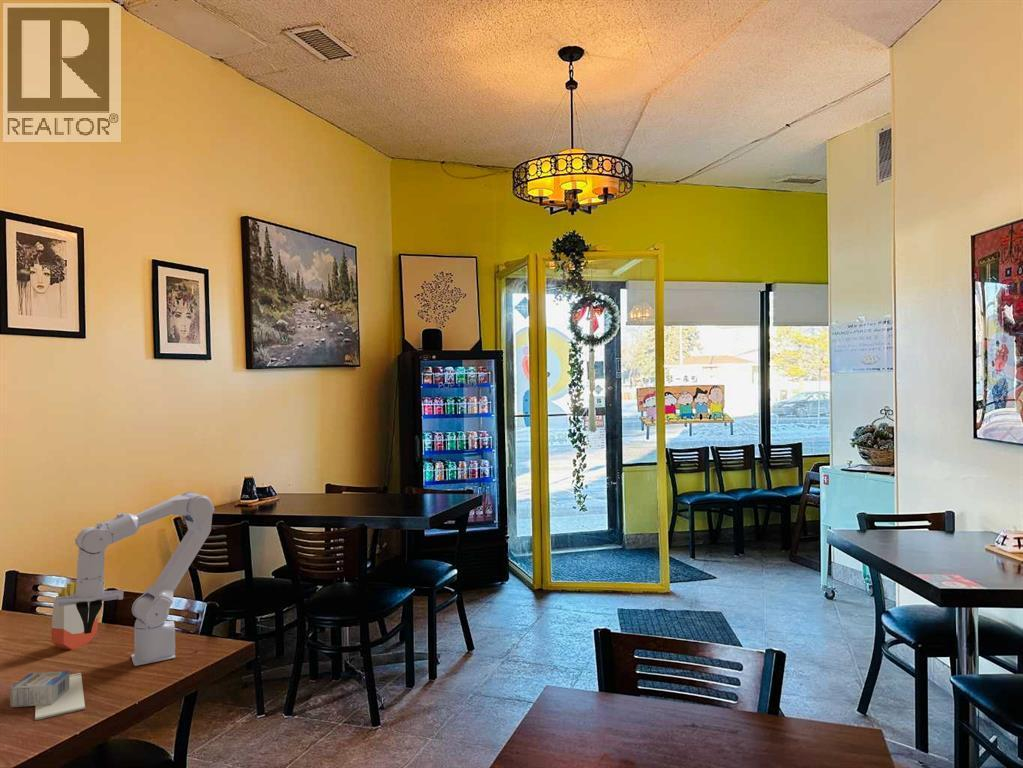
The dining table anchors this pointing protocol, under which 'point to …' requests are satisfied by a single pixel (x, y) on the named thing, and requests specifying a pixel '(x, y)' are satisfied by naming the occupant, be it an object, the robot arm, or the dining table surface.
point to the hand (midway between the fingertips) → (87, 632)
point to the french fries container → (70, 623)
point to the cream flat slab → (64, 700)
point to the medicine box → (39, 689)
